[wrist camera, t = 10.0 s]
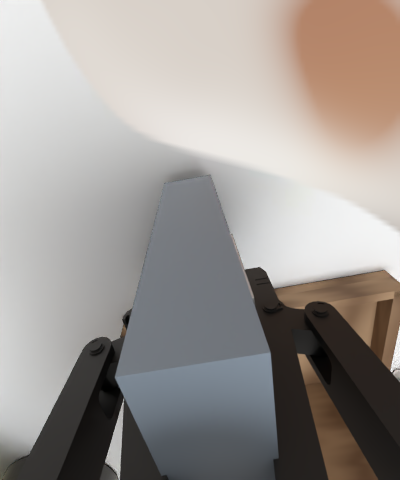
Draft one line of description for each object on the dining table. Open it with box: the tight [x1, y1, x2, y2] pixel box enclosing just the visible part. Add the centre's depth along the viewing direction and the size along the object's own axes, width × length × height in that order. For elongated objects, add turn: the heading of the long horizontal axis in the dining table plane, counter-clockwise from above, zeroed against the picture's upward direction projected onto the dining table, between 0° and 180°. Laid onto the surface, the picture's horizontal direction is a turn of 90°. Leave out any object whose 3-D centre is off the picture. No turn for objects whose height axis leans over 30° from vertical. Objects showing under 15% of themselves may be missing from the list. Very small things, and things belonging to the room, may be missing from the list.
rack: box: [120, 270, 400, 480], centre depth 23 cm, size 24×14×12 cm, turn 100°
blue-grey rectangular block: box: [115, 175, 279, 480], centre depth 14 cm, size 3×10×14 cm, turn 10°
